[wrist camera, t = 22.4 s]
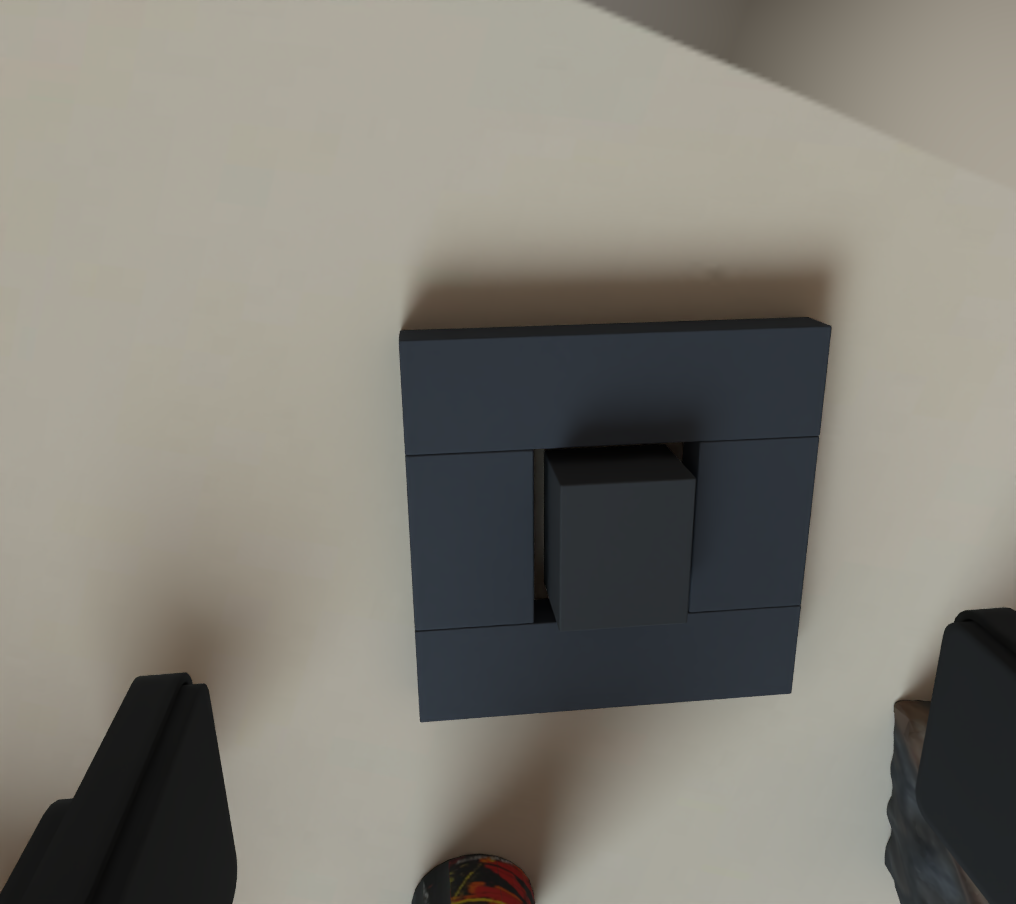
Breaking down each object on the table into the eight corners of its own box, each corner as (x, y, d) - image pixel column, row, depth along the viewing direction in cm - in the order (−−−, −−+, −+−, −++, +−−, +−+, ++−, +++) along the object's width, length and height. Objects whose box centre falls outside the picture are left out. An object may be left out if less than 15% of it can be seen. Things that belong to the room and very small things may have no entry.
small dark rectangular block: (544, 449, 34) (560, 485, 30) (665, 443, 34) (696, 477, 30) (543, 583, 36) (559, 632, 32) (659, 576, 36) (687, 624, 32)
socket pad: (399, 330, 32) (398, 340, 30) (808, 316, 33) (832, 325, 31) (419, 694, 37) (420, 722, 35) (773, 668, 38) (791, 693, 36)
